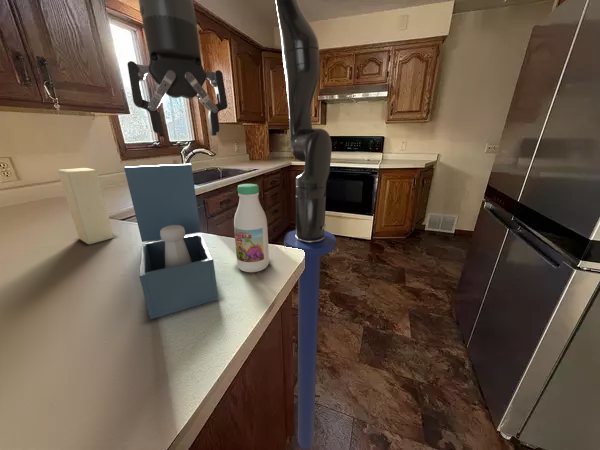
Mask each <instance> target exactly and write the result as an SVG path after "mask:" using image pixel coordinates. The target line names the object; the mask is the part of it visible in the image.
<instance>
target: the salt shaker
mask: <svg viewBox="0 0 600 450" xmlns="http://www.w3.org/2000/svg"><path fill="white" fill-rule="evenodd" d="M160 236H161V239H160V240H163V241H165V268H169V267H173V266H178V265H182V264H187V263H191V262H192V260H191V258H190V255H189V253H188V250H187V248H186V245H185V243H184V240H183V238H184V237H185V236H186V235H185V230H184V227H182V226H180V225H170V226H166V227H164V228H162V229H161V231H160Z"/></svg>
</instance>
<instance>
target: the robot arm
mask: <svg viewBox="0 0 600 450" xmlns="http://www.w3.org/2000/svg"><path fill="white" fill-rule="evenodd" d="M193 1H194V0H138V5H139V13H140V15H141V21H142V24H143V25H142V26H143V31H144V36H145V42H146V45H147V46H146V47H147V51H148V57H149V64H148V65H145V64H139V63H136V62H135V61H134V60H133V61H132V60H130V61H128V62H127V71H128V76H129V83H130V89H131V95H132V102H133V104H134V105H135V107H137V108H139V109H143V110H146V111H147V112H148V113H149V116H150V121H151V126H152V131H153V132H154V134H158V137H162V138H163V137H165V135H164V129H163V124H162V119H161V114H160V111H159V110H158V108H159V107H160V105H161V103H163V101H164V98H165V97H166V96H169V97H171V99H178V98H185V99H188V100H189V99H194V98H196V99H197V100H198V101H199V103H200V104H202V106H203V107H204V108H205V109H206V110H207V111H208V113H207V119H208V126H209V134H210V136H212V137H213V136H214V137H217V133H219V132H220V122H219V112H221V111H224V110H226V109H227V108H228V100H227V99H228V98H227V93H226V88H225V81H224V80H225V79H224V74H223V72H222V70H219V69H217V70H215V71H205V69H204V66H203V63H202V57H201V50H200V49H201V48H200V41H199V34H198V21H197V17H196V12H195V6H194V2H193ZM274 1H275V6H276V12H277V18H278V26H279V35H280V43H281V52H282V53H281V55H282V63H283V69H284V70H283V71H284V77H285V85H286V86H285V87H286V94H287V103H288V104H287V105H288V119H289V120H288V121H289V122H288V123H289V146H290V151H291V153H292V155H293V157H294V158H295V159H296V160H297V161H300V162H304V168H303V172H302V173H300V174H298V175H296V176H295V230H296V235H295V238H296V240H298V241H299V242H302V243H319V242H321V241H323V240H324V231H325V229H326V228H327V227H326V225H327V224H326V204H327V203H326V201H327V183H328V182H327V181H328V179H329V176H330V171H331V162H332V161H331V160H332V151H333V149H332V147H333V145H332V144H333V143H332V139H331V136H330V135H331V134H330V133H329V132H328V131H327V130H325V129H323V128H313V124H312V107H313V102H314V98H315V95H316V92H317V88H318V84H319V80H320V76H321V75H320V74H321V60H320V59H321V58H320V44H319V40H318V37H317V35H316V33H315V30H314V28H313V27H312V25H311V24H310V22H309V21H308V19H307V17H306V15H305V14H304V12H303V9H302V8H301V5H300V2H299V0H274ZM147 75H149V76H150V77H151V78H152V80H153V81H154V82H155V83H156V84H157V85H158V87H157V88H156V90H155V92H154V93H153V96H152V97H151V99H150V101H148V100H145V99H143V93H142V86H141V82H144V81H145V80H146V76H147ZM206 80H208V82H209V84H210V86H212V87H214V92H215V98H216V103H214V101H213V100H212V98H211V97H210V95H209V94H208V93H207V92H206V90H205V89H204V88H203V86H204V84H205V82H206Z"/></svg>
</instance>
